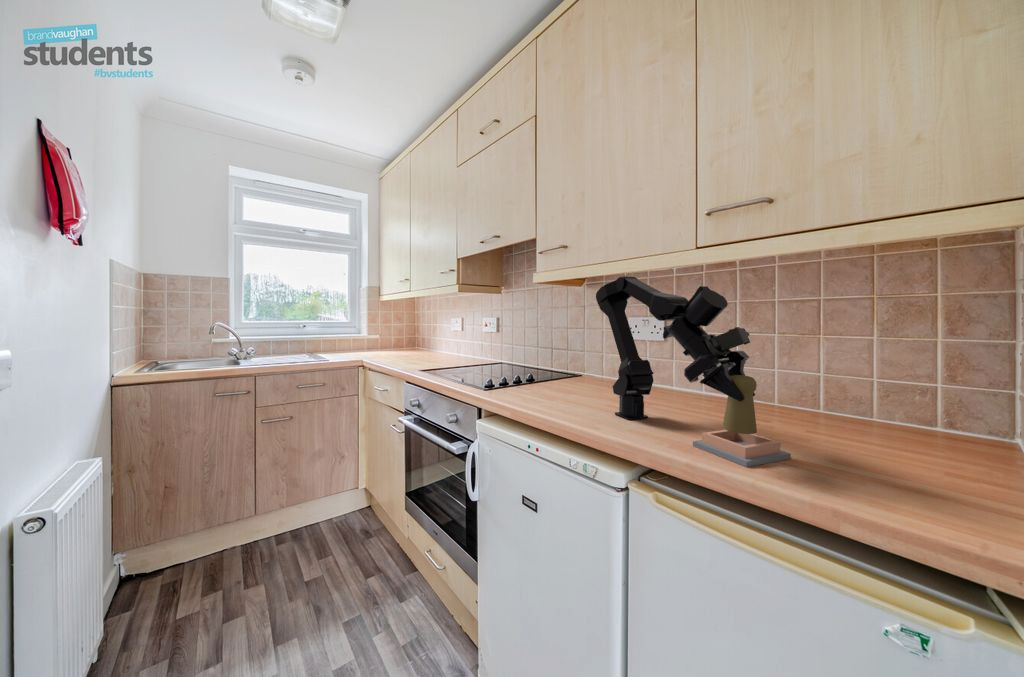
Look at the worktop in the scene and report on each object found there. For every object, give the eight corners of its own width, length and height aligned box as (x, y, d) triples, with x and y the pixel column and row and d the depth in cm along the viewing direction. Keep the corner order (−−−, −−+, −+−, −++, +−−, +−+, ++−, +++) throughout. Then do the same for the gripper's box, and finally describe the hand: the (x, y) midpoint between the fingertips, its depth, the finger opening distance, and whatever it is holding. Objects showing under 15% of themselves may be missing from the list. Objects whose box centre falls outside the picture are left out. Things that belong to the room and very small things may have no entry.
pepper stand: (692, 445, 78) (693, 431, 78) (733, 439, 82) (734, 426, 82) (746, 467, 67) (746, 450, 67) (790, 458, 71) (791, 443, 71)
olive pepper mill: (716, 424, 78) (718, 373, 77) (745, 425, 77) (747, 373, 77) (732, 433, 71) (734, 378, 71) (764, 434, 71) (766, 378, 71)
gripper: (702, 313, 70) (766, 378, 62) (740, 314, 82) (799, 369, 74) (662, 351, 77) (715, 414, 69) (703, 347, 88) (752, 400, 81)
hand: (748, 398), depth 73 cm, fingers closed on olive pepper mill, 5 cm apart
